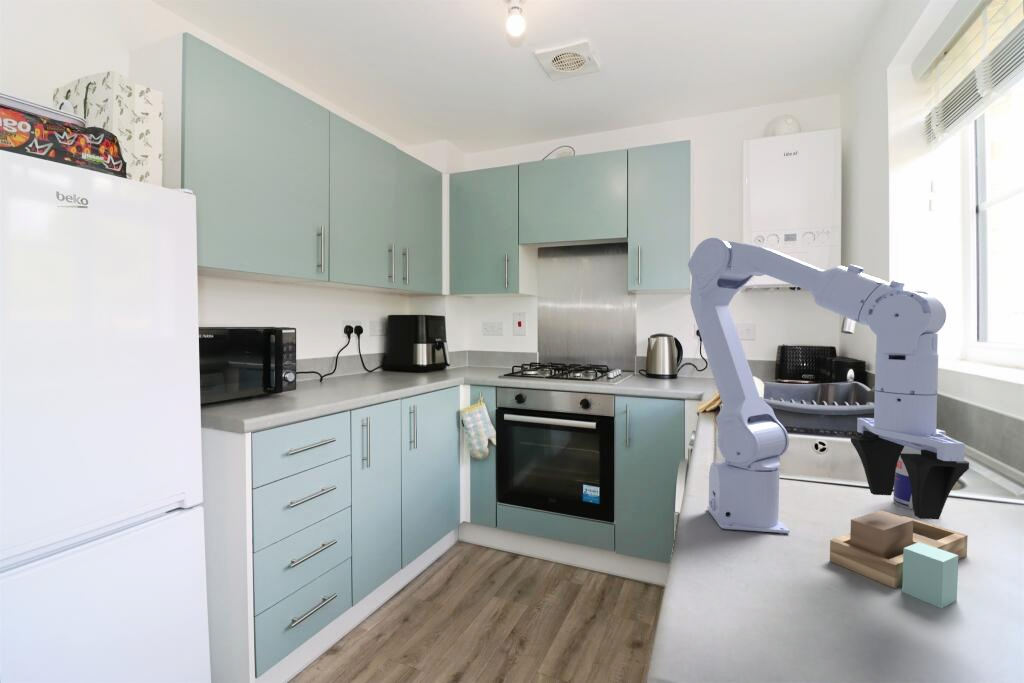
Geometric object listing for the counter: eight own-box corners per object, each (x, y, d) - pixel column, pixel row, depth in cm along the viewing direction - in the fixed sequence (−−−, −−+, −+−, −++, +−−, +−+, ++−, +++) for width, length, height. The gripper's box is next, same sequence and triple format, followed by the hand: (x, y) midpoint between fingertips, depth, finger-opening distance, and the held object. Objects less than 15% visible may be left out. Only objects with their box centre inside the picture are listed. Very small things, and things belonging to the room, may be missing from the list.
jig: (894, 588, 53) (895, 565, 53) (829, 560, 59) (830, 539, 59) (966, 555, 61) (967, 535, 61) (903, 534, 67) (903, 515, 67)
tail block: (941, 608, 49) (943, 562, 49) (902, 591, 53) (903, 548, 52) (956, 600, 51) (958, 555, 51) (917, 584, 54) (919, 542, 54)
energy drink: (893, 497, 83) (895, 430, 82) (933, 505, 79) (936, 435, 79) (893, 506, 78) (895, 435, 78) (936, 514, 75) (938, 440, 75)
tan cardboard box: (882, 567, 55) (883, 530, 55) (849, 555, 58) (850, 519, 58) (912, 555, 58) (913, 520, 58) (880, 544, 61) (881, 510, 61)
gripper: (998, 401, 48) (995, 532, 48) (898, 386, 62) (895, 486, 62) (923, 400, 49) (920, 529, 49) (841, 384, 63) (839, 484, 63)
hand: (902, 505), depth 56 cm, fingers open, 7 cm apart
